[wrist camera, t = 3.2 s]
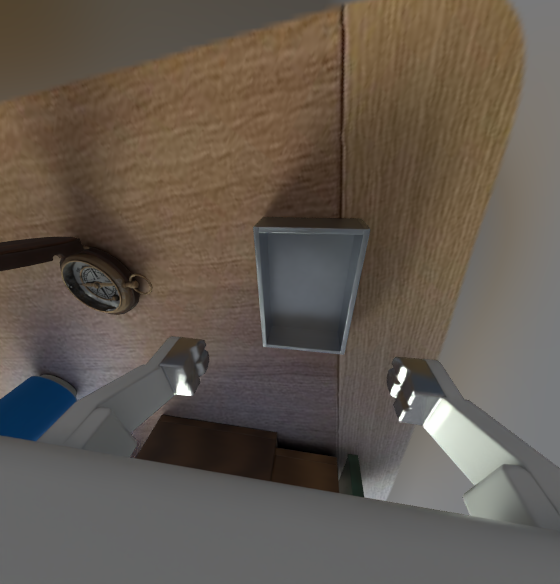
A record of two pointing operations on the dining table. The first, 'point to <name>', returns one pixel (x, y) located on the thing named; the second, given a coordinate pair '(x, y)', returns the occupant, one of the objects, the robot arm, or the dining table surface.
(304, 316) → the tray
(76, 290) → the compass
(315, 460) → the drawer
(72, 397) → the beverage can
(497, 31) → the dining table surface
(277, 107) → the dining table surface
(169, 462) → the cabinet
